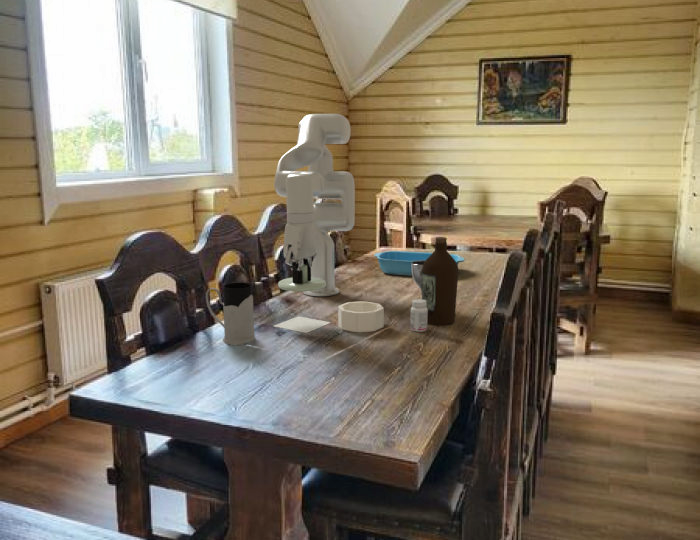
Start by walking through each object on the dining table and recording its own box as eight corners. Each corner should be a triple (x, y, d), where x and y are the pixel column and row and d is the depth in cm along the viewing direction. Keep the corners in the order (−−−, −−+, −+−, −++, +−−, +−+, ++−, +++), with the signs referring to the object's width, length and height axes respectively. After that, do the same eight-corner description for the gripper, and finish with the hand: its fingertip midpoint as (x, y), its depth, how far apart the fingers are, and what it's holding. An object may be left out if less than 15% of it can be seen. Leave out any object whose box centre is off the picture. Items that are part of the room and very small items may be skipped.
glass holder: (245, 346, 160) (243, 290, 157) (199, 340, 165) (196, 286, 162) (261, 336, 168) (260, 283, 165) (217, 331, 173) (214, 279, 170)
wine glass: (434, 312, 192) (436, 265, 189) (409, 311, 194) (410, 264, 191) (436, 306, 200) (437, 260, 197) (411, 304, 201) (412, 259, 198)
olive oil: (443, 314, 190) (446, 234, 185) (464, 323, 180) (467, 239, 175) (414, 318, 186) (415, 236, 181) (433, 327, 176) (435, 241, 171)
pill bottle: (428, 328, 176) (429, 299, 174) (425, 332, 172) (425, 303, 170) (412, 326, 178) (413, 298, 176) (408, 331, 173) (409, 302, 171)
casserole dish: (465, 269, 259) (466, 252, 258) (462, 280, 238) (462, 262, 236) (380, 265, 268) (380, 249, 266) (369, 275, 247) (369, 258, 245)
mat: (272, 327, 176) (272, 326, 176) (298, 317, 186) (298, 316, 186) (306, 334, 170) (306, 332, 170) (331, 324, 180) (331, 322, 180)
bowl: (331, 329, 175) (331, 308, 174) (354, 319, 185) (354, 299, 184) (367, 336, 168) (368, 315, 167) (389, 325, 179) (390, 305, 177)
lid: (268, 287, 175) (267, 267, 173) (297, 277, 186) (297, 258, 184) (306, 294, 167) (306, 273, 166) (335, 283, 178) (334, 263, 177)
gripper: (307, 213, 181) (308, 274, 185) (271, 221, 167) (273, 286, 172) (328, 215, 177) (329, 277, 181) (292, 223, 163) (294, 290, 168)
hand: (301, 281), depth 176 cm, fingers closed on lid, 3 cm apart
